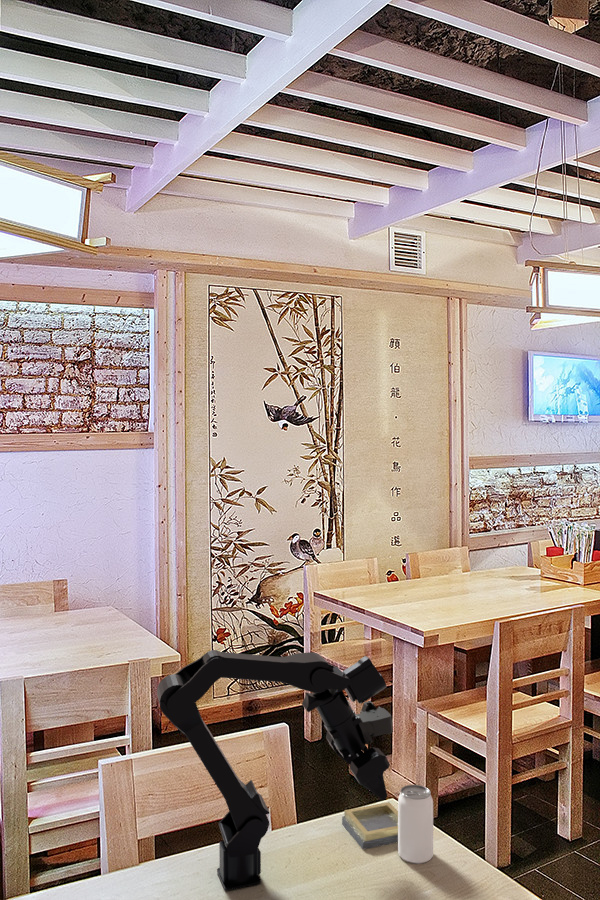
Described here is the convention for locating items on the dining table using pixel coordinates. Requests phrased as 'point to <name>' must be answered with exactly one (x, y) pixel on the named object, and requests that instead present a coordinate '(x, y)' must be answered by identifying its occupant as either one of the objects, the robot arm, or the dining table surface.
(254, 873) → the robot arm
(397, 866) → the dining table surface
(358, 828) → the gold square coaster
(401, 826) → the can
